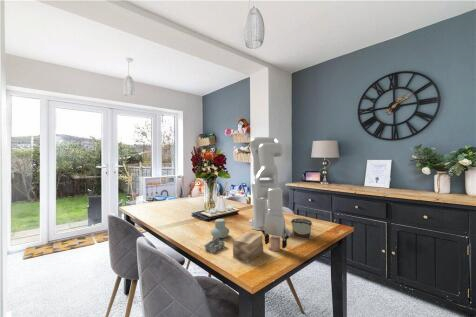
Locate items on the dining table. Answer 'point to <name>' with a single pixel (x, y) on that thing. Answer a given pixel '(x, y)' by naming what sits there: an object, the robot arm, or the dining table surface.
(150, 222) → the dining table surface
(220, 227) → the air freshener
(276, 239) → the pink rounded capsule
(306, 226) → the food container
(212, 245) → the egg carton
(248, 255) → the tower base
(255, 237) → the tower top
